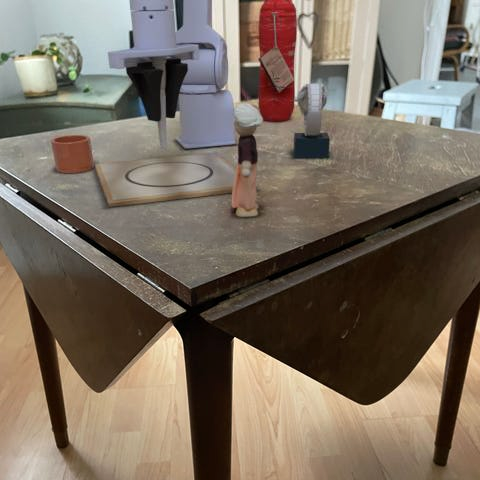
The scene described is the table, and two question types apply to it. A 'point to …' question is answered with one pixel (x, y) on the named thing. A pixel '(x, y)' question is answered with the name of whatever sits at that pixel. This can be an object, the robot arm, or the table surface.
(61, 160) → the pen pot
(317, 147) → the watch
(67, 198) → the table surface
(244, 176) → the grandmother figurine
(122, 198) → the sketch board
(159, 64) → the pen
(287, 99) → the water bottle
